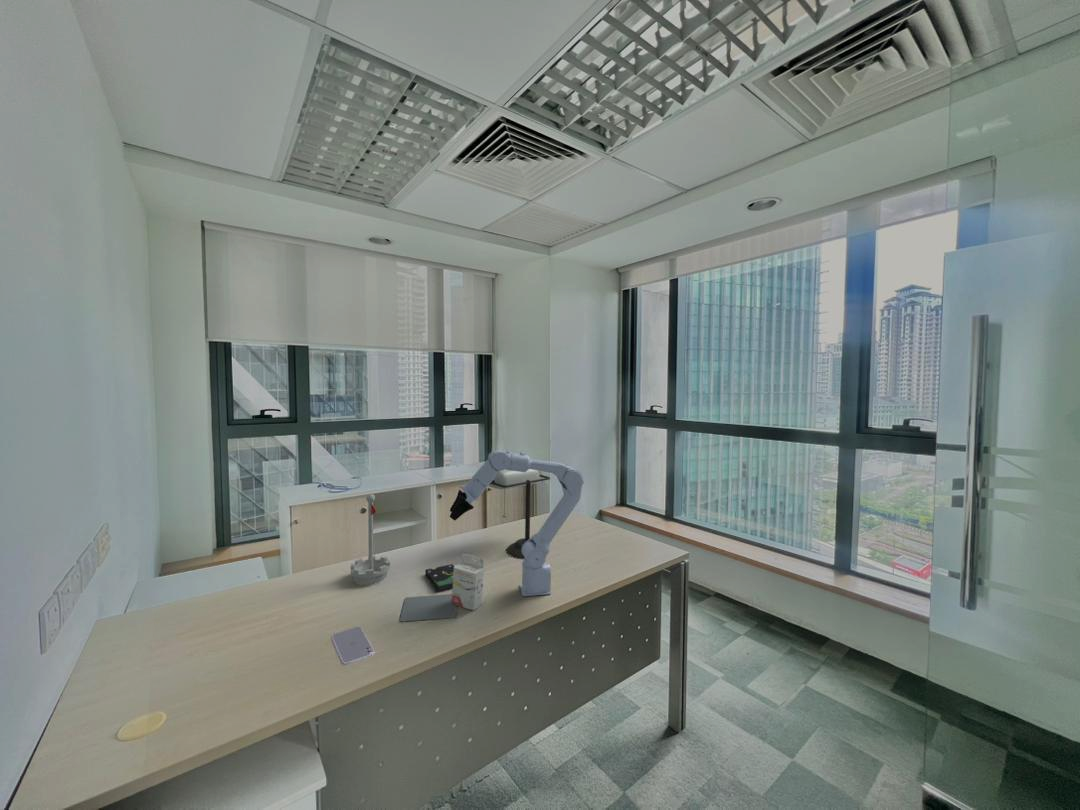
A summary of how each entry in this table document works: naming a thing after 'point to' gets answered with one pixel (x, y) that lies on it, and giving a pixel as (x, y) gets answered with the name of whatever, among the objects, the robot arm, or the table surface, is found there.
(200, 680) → the table surface
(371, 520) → the flag stand
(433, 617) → the mat
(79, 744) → the table surface
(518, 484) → the lamp
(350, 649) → the mobile phone
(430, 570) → the disk drive
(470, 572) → the ink cartridge box
